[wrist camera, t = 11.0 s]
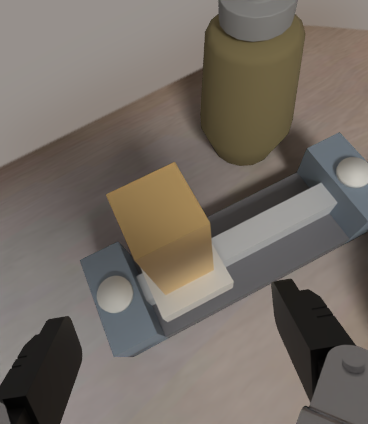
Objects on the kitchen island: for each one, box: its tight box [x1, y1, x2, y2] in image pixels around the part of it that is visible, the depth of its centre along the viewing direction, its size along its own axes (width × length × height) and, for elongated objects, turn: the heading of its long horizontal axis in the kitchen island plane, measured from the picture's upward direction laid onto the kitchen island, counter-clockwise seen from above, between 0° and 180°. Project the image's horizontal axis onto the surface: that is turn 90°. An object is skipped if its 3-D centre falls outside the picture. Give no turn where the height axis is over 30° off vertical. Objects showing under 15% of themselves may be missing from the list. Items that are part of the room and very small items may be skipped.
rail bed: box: [80, 132, 368, 357], centre depth 24 cm, size 22×7×5 cm, turn 116°
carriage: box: [106, 162, 234, 322], centre depth 19 cm, size 5×6×12 cm
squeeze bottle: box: [200, 0, 305, 166], centre depth 23 cm, size 8×8×18 cm
